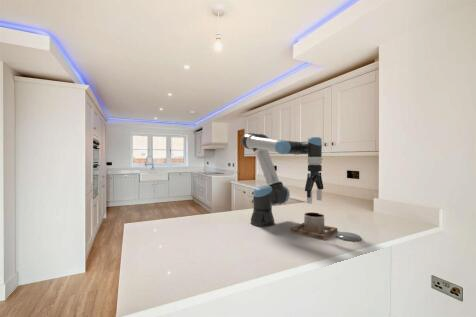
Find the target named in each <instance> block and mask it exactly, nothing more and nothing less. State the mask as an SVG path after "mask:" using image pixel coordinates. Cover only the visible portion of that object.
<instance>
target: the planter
mask: <svg viewBox="0 0 476 317" xmlns="http://www.w3.org/2000/svg"><path fill="white" fill-rule="evenodd" d="M303 216H304V220H303V221H304V222H303V223H304V228H303V230H305V231H309V232H314V233H318V234H324V233H325V230H324V225H325V215H324V214H323V213H319V212H305V213H304V215H303Z"/></svg>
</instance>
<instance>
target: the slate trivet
mask: <svg viewBox="0 0 476 317" xmlns="http://www.w3.org/2000/svg"><path fill="white" fill-rule="evenodd" d="M335 237H336V238H337V239H339V240H342V241H346V242H360V241H361V240H362V237H361V236H360V235H359V234H356V233H352V232H349V231H348V232H347V231H337V232H335Z"/></svg>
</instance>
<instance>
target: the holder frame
mask: <svg viewBox="0 0 476 317" xmlns="http://www.w3.org/2000/svg"><path fill="white" fill-rule="evenodd" d="M325 231H326V232H325ZM290 233H296V234H299V235H303V236H307V237H311V238H315V239H320V240H323V241H325V240H326V239H328V238H330V237H331V236H332V235H334V234H336V233H338V227H335V226H330V225H325V224H324V233H322V234H318V233H314V232H309V231H305V230H304V222H302V223H300V224H298V225H295V226H293V227H291V228H290Z"/></svg>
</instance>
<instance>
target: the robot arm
mask: <svg viewBox="0 0 476 317" xmlns="http://www.w3.org/2000/svg"><path fill="white" fill-rule="evenodd" d="M240 138H241V140H240V143H241V145H242V147H243V148H244V149H247V150H252V151H253V153H254V154H255V155H256V156H257V158H258V162H259V165H260V169H261V170H262V173H263V176H264V179H265V181H266V185H259V186H255V187H254V188H253V194H252V195H253V196H252V197H253V211H252V215H251V218H250V224H251V225H253V226H257V227H271V226H274V225H275V217H274V214H273V211H272V210H273V209H272V208H273V206H277V205H283V204H286V203H287V202H288V201H289V200H290V199H289V198H290V191H289V190H290V189H289V188H288V187H287V186H285V185H284V184H283V182H282V181H281V180H280V179H279V177H278V175H277V171H276V169H275V166H274V163H273V160H272V158H271V155H270V152H275V153H277V154H280V155H295V156H296V155H297V156H299V155H307V171H308V172H309V173H307V177H306V178H307V179H306V182H305V187H304V191H305V192H306V204H310V205H312V204H313V191H312V190H313V187H314V184H315V186H316V200H317V201H322V200H323V198H322V197H323V196H322V195H323V191H322V190H324V183H323V177H322V171H323V168H322V166H323V165H321V164H322V162H323V158H322V157H323V156H322V154H323V152H322V150H323V142H322V138H321V137H317V136H312V137H308V138H307V141H293V140H282V139H275V138H270V137H269V136H267V135H266V134H264V133H263V134H262V133H253V132H252V133H251V132H249V133H245V134H243V135H242V136H241V137H240Z"/></svg>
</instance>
